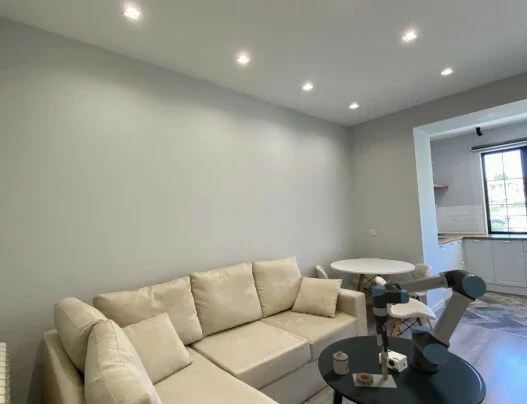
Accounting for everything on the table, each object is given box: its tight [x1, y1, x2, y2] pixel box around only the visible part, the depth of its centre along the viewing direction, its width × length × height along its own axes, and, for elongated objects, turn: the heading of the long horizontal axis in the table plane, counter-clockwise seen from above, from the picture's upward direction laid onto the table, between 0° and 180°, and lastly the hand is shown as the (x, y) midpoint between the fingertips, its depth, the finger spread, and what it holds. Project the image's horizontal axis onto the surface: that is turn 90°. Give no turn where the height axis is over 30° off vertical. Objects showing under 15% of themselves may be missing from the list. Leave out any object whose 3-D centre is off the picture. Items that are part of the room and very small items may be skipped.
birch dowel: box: [380, 351, 389, 379], centre depth 166 cm, size 3×3×14 cm
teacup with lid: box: [332, 350, 350, 376], centre depth 177 cm, size 12×9×12 cm
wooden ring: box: [356, 372, 374, 388], centre depth 163 cm, size 9×9×2 cm
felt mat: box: [352, 373, 398, 389], centre depth 164 cm, size 22×12×1 cm, turn 80°
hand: (382, 351), depth 166 cm, fingers open, 13 cm apart
